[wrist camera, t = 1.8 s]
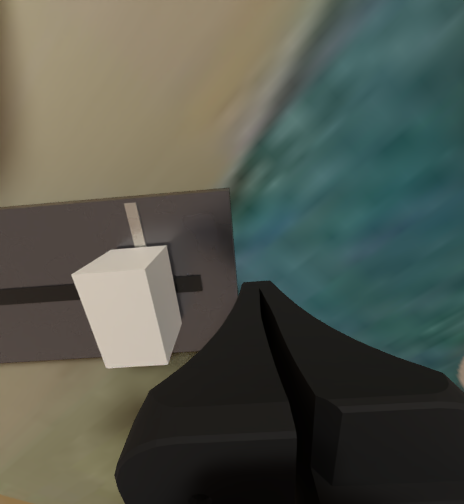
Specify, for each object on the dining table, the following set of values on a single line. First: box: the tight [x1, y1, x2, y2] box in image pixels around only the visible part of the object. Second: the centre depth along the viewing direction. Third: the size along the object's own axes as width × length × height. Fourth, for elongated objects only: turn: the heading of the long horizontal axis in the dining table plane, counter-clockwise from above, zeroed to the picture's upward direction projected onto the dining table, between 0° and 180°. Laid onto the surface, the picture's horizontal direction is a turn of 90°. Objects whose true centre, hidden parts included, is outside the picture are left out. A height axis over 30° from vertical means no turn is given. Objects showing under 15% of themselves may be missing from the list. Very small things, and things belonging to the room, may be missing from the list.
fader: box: [71, 245, 182, 368], centre depth 11 cm, size 5×3×3 cm, turn 5°
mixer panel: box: [0, 188, 238, 363], centre depth 14 cm, size 10×24×2 cm, turn 95°
